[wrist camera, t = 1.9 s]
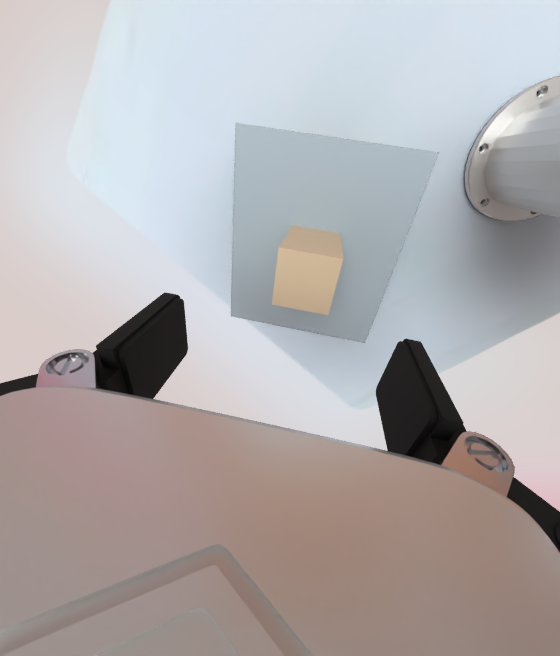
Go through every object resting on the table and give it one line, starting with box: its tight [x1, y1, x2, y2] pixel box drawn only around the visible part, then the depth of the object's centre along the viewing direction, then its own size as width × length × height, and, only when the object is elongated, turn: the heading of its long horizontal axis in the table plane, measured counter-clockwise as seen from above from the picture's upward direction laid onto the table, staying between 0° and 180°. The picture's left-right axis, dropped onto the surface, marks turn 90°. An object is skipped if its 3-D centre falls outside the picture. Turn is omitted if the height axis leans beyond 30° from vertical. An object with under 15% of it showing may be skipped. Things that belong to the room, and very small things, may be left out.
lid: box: [231, 123, 439, 343], centre depth 21 cm, size 14×16×9 cm
